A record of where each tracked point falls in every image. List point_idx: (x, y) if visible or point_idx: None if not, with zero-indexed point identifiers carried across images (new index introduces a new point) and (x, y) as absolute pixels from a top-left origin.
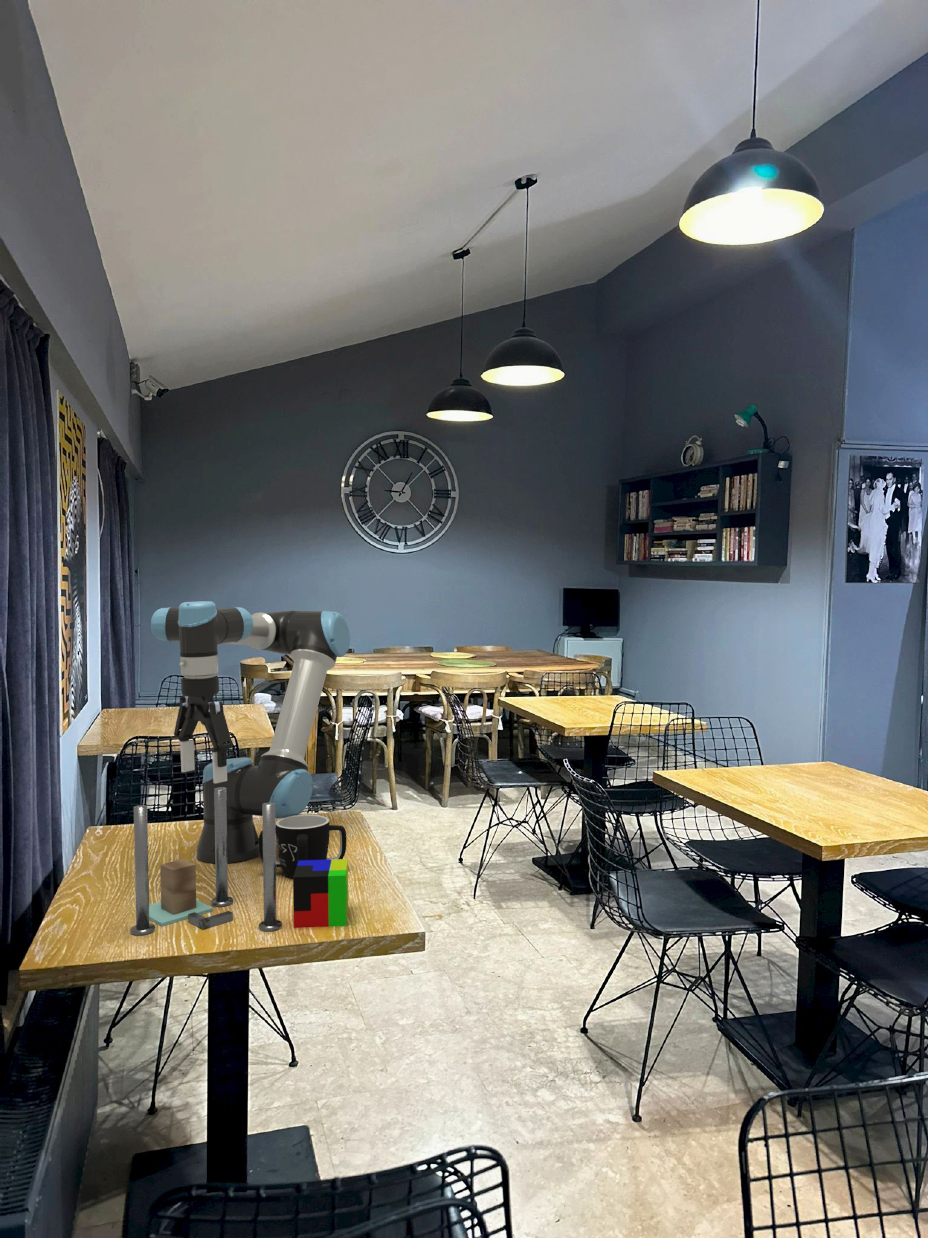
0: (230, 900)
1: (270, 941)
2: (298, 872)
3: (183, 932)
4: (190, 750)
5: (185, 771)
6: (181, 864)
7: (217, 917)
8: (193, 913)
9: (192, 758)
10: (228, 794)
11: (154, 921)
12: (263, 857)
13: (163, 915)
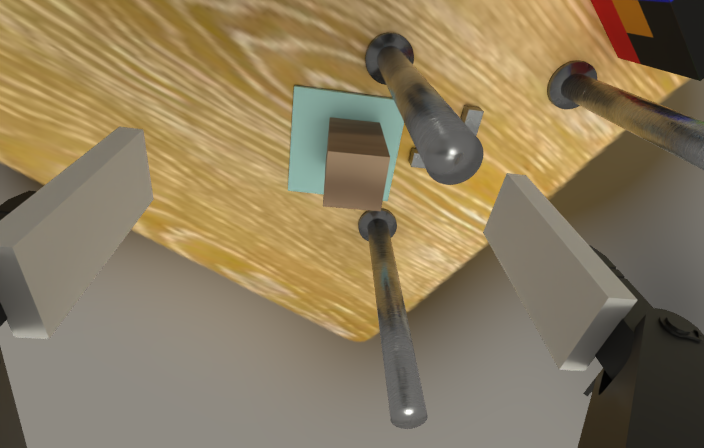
0: (406, 48)
1: (606, 127)
2: (700, 44)
3: (438, 190)
4: (79, 224)
5: (151, 188)
6: (362, 177)
7: None
8: (418, 159)
9: (107, 175)
10: None
11: None
12: (660, 147)
13: None
